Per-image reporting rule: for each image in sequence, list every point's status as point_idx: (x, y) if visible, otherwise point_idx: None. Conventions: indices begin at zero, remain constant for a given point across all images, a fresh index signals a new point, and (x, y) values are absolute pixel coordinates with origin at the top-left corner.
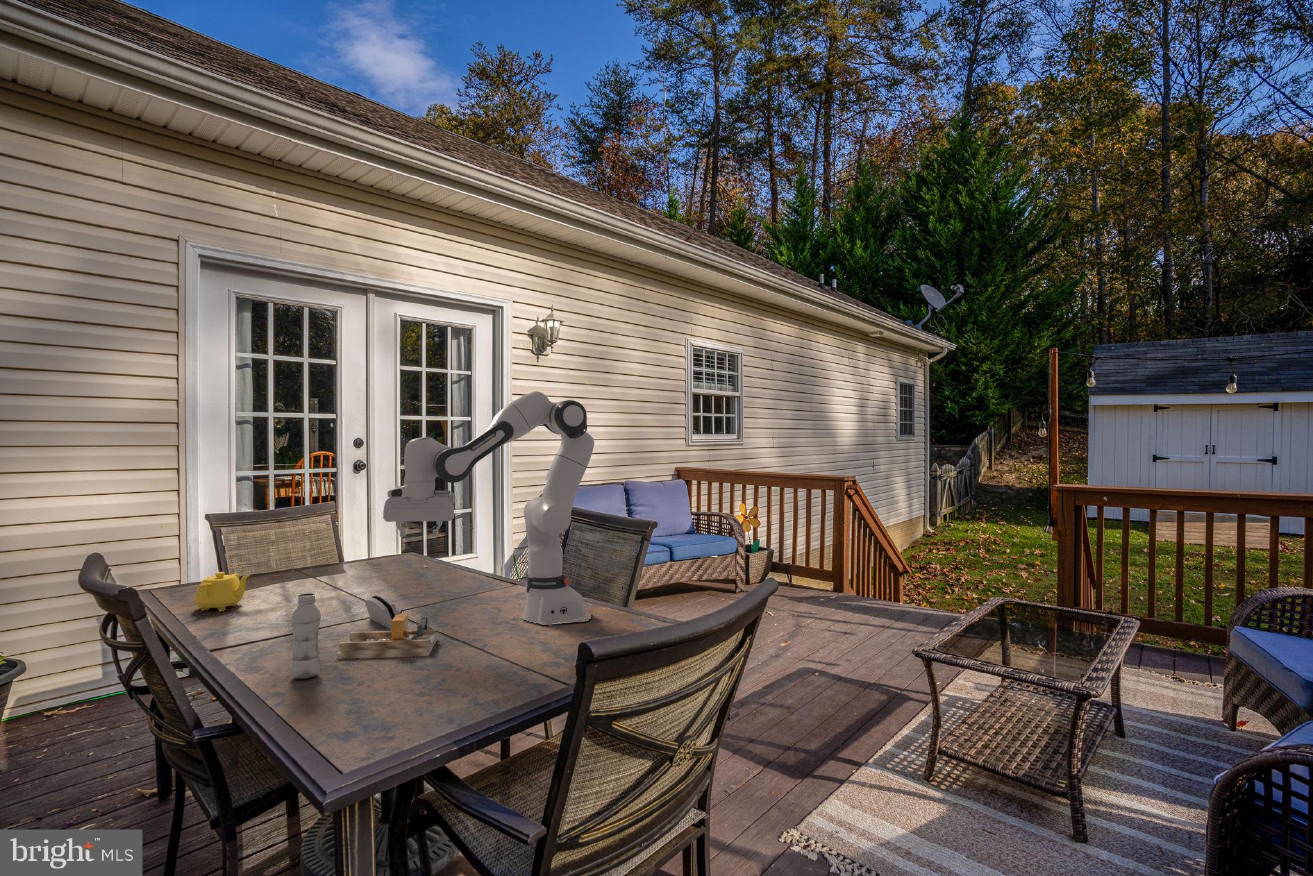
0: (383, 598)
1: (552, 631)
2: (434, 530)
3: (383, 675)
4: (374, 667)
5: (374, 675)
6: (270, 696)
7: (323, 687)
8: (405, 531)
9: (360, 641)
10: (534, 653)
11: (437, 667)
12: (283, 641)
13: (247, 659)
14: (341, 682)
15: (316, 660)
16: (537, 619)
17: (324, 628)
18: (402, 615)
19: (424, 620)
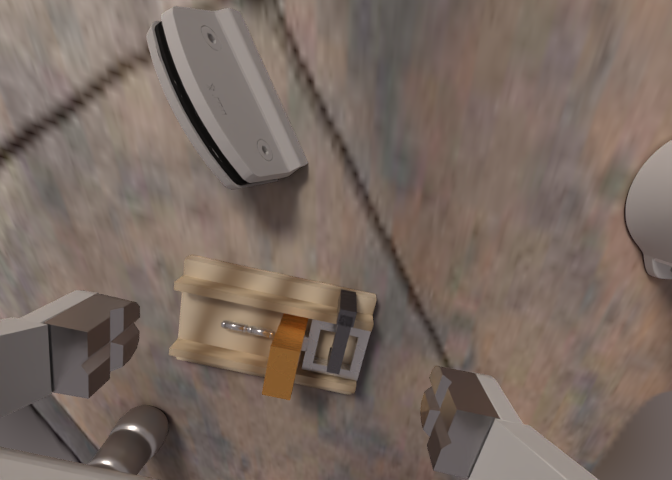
0: (210, 131)
1: (650, 318)
2: (456, 473)
3: (275, 446)
4: (256, 410)
5: (260, 442)
6: None
7: (191, 462)
8: (99, 351)
9: (208, 298)
10: (547, 433)
11: (362, 441)
12: (32, 198)
13: (13, 299)
14: (214, 453)
15: (153, 454)
16: (656, 258)
17: (92, 109)
18: (286, 358)
19: (344, 338)
